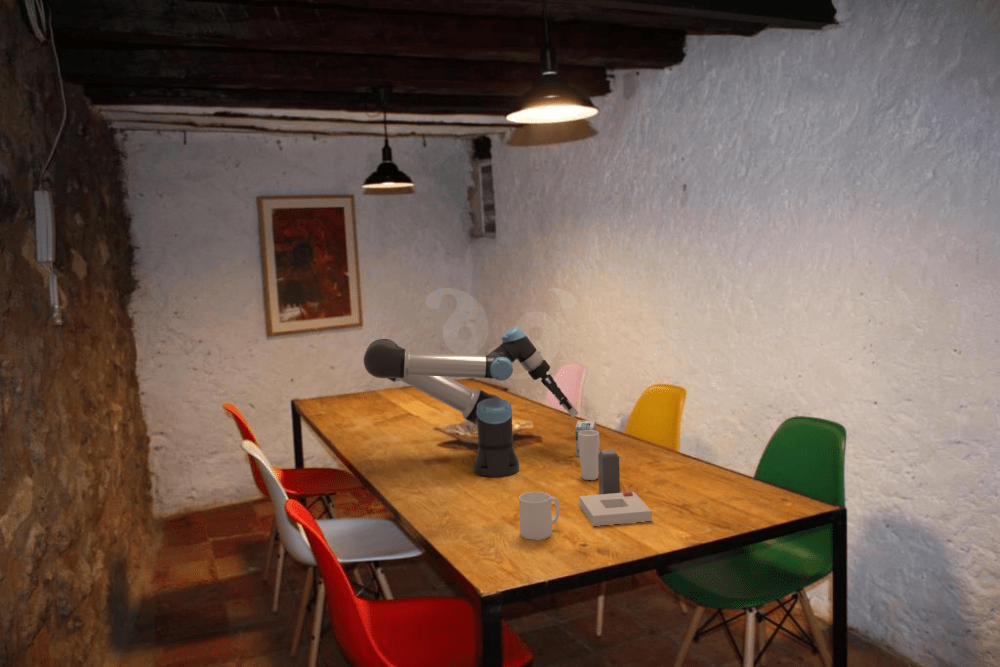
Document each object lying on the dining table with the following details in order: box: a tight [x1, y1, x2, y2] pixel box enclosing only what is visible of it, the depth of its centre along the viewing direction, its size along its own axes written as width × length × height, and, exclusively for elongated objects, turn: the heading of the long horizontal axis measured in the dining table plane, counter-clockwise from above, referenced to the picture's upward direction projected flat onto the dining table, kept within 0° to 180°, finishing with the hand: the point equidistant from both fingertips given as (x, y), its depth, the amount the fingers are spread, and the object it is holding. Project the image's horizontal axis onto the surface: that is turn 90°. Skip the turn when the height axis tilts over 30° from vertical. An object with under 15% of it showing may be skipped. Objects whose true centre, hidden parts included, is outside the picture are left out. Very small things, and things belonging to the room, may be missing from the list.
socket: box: [578, 490, 653, 527], centre depth 206 cm, size 16×16×4 cm
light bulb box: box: [574, 419, 597, 457], centre depth 267 cm, size 11×7×11 cm, turn 168°
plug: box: [598, 449, 621, 495], centre depth 222 cm, size 5×5×13 cm
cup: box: [518, 491, 561, 541], centre depth 194 cm, size 8×12×10 cm
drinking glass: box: [578, 430, 601, 481], centre depth 237 cm, size 7×7×15 cm
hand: (571, 411), depth 265 cm, fingers open, 13 cm apart
